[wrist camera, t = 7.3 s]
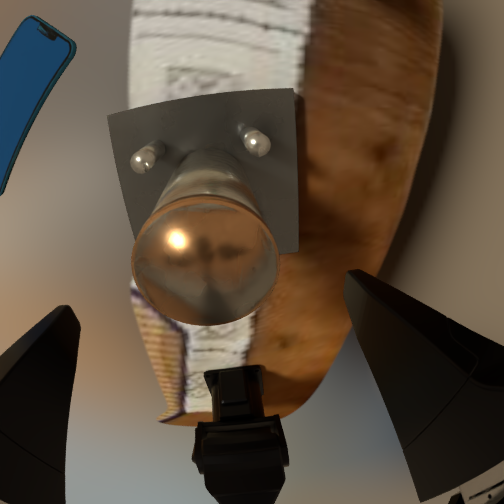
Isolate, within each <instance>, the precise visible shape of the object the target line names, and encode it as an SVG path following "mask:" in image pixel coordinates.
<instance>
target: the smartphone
mask: <svg viewBox="0 0 504 504" xmlns="http://www.w3.org/2000/svg"><path fill="white" fill-rule="evenodd" d="M76 48H77V47H76V43H75V42H74V41H73V40H72V39H70V38H69V37H67V36H66V35H64V34H63V33H61V32H60V31H59V30H57V29H56V28H54V27H53V26H51V25H50V24H48V23H47V22H45V21H44V20H42V19H41V18H39V17H38V16H34V15H31V16H28V17H26V18H25V19H24V20H23V21H22V22H21V24H20V25H19V27H18V28H17V30H16V31H15V33H14V34H13V36H12V38H11V40H10V41H9V43H8V44H7V46H6V48H5V50H4V51H3V53H2V55H1V57H0V196H1V195H2V194H3V193H4V192H5V188H6V186H7V183H8V180H9V177H10V175H11V172H12V169H13V167H14V164H15V162H16V159H17V157H18V155H19V152H20V150H21V148H22V145H23V143H24V141H25V139H26V137H27V135H28V133H29V131H30V129H31V127H32V125H33V123H34V121H35V119H36V117H37V115H38V113H39V111H40V109H41V108H42V106H43V104H44V102H45V100H46V99H47V97H48V96H49V94H50V92H51V90H52V89H53V87H54V86H55V84H56V83H57V81H58V79H59V78H60V76H61V75H62V73H63V72H64V70H65V69H66V67H67V66H68V65H69V63H70V62H71V60H72V59H73V58H74V56H75V54H76Z"/></svg>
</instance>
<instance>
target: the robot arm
mask: <svg viewBox="0 0 504 504" xmlns="http://www.w3.org/2000/svg"><path fill="white" fill-rule="evenodd" d="M343 295H344V300H345V303H346V306H347V309H348V312H349V315H350V318H351V321H352V324H353V327H354V330H355V333H356V336H357V339H358V342H359V344H360V346H361V349H362V351H363V353H364V355H365V358H366V360H367V362H368V364H369V367H370V369H371V371H372V374H373V376H374V378H375V381H376V383H377V385H378V388H379V390H380V392H381V395H382V398H383V400H384V402H385V405H386V407H387V410H388V413H389V415H390V418H391V420H392V423H393V425H394V428H395V431H396V433H397V436H398V439H399V441H400V444H401V447H402V449H403V453H404V456H405V459H406V461H407V464H408V467H409V470H410V473H411V476H412V479H413V482H414V485H415V488H416V492H417V495H418V498H419V500H420V502H424V501H427V500H429V499H432V498H434V497H436V496H439V495H441V494H443V493H445V492H448V491H450V490H452V489H454V488H456V487H458V486H459V489H460V491H459V492H458V493H456V494H455V495H453V496H452V497H451V498H450V501H449V503H448V504H504V346H502V345H500V344H498V343H496V342H494V341H492V340H490V339H488V338H486V337H484V336H482V335H480V334H478V333H476V332H474V331H472V330H470V329H468V328H466V327H464V326H463V325H461V324H459V323H457V322H455V321H454V320H452V319H450V318H447V317H446V316H445V315H443V314H441V313H440V312H438V311H436V310H434V309H432V308H431V307H429V306H427V305H425V304H423V303H422V302H420V301H418V300H416V299H414V298H413V297H411V296H409V295H407V294H405V293H403V292H402V291H400V290H398V289H396V288H394V287H392V286H391V285H389V284H387V283H385V282H383V281H381V280H379V279H377V278H376V277H374V276H372V275H370V274H368V273H366V272H364V271H362V270H360V269H356V270H350V271H348V272H347V273H346V276H345V284H344V291H343ZM80 331H81V326H80V322H79V321H78V319H77V317H76V315H75V313H74V312H73V310H72V308H71V307H70V306H69V305H60V306H58V307H56V308H55V309H54V310H53V311H52V312H50V313H49V314H48V315H47V316H45V317H44V318H43V319H42V320H41V321H40V322H38V323H37V324H36V325H35V326H34V327H32V328H31V329H30V330H29V331H28V332H26V334H24V335H23V336H22V337H21V338H20V339H18V340H17V341H16V342H15V343H14V344H13V345H12V346H11V347H10V348H8V349H7V350H6V351H5V352H4V353H3V354H2V355H1V356H0V504H66V500H65V458H66V440H67V429H68V419H69V411H70V402H71V396H72V390H73V384H74V378H75V372H76V364H77V356H78V347H79V339H80ZM204 378H205V381H206V384H207V386H208V389H209V391H210V394H211V396H212V412H213V422H203V421H202V422H198V426H197V428H195V444H194V449H193V453H192V461H193V462H194V463H195V464H196V465H197V468H198V470H199V473H200V474H204V480H205V486H206V489H207V490H208V491H209V493H210V494H211V495H212V496H213V497H214V498H215V499H216V500H217V502H218V503H219V504H274V503H275V501H276V499H277V497H278V495H279V493H280V490H281V489H282V486H283V484H284V482H285V472H284V467H287V466H289V455H288V448H287V444H286V439H285V436H284V432H283V429H282V425H281V421H280V418H279V414H276V415H274V416H268V417H265V415H264V409H263V403H262V397H261V396H262V395H263V394H264V392H263V383H262V373H261V367H260V366H249V367H242V368H233V369H225V370H215V371H206V372H204Z"/></svg>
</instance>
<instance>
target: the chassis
mask: <svg viewBox="0 0 504 504" xmlns="http://www.w3.org/2000/svg"><path fill="white" fill-rule="evenodd" d="M107 118H108V124H109V131H110V137H111V142H112V147H113V153H114V158H115V163H116V167H117V172H118V176H119V181H120V185H121V189H122V193H123V198H124V201H125V206H126V209H127V213H128V217H129V221H130V224H131V228H132V231H133V235H134V238H135V241H136V239H137V237H138V235H139V233H140V231H141V229H142V227H143V225H144V224H145V222H146V221H147V220H148V218H149V217H150V216H151V214H152V212H153V210H154V208H155V206H156V204H157V202H158V200H159V198H160V197H161V195H162V193H163V191H164V189H165V187H166V185H167V183H168V181H169V180H170V178H171V176H172V174H173V172H174V171H175V169H176V167H177V166H178V164H179V163H180V162H181V160H182V159H184V158H185V157H186V156H187V155H189V154H191V153H192V152H195V151H197V150H201V149H218V150H222V151H225V152H227V153H229V154H230V155H232V156H233V157H234V158H236V159H237V160H238V162H239V163H240V164H241V166H242V167H243V169H244V171H245V174H246V176H247V179H248V181H249V184H250V186H251V189H252V191H253V194H254V197H255V199H256V202H257V204H258V207H259V209H260V212H261V214H262V217H263V220H264V221H265V223H266V224H267V226H268V227H269V229H270V231H271V233H272V235H273V238H274V240H275V243H276V245H277V249H278V252H279V254H286V253H293V252H299V215H298V169H297V143H296V122H295V105H294V90H293V88H283V89H260V90H246V91H234V92H225V93H216V94H208V95H201V96H194V97H188V98H182V99H176V100H171V101H166V102H161V103H156V104H151V105H147V106H143V107H138V108H134V109H130V110H126V111H123V112H119V113H115V114H112V115H108V116H107Z"/></svg>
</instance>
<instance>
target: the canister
mask: <svg viewBox="0 0 504 504" xmlns="http://www.w3.org/2000/svg"><path fill="white" fill-rule="evenodd" d="M131 259H132V260H131V266H132V273H133V277H134V280H135V283H136V285H137V287H138V289H139V291H140V292H141V294H142V295H143V297H144V298H145V299H146V300H147V302H148V303H150V304H151V305H152V306H153V307H154V308H155V309H156V310H158V311H159V312H161V313H162V314H164V315H166V316H167V317H170V318H172V319H174V320H177V321H180V322H183V323H187V324H191V325H199V326H213V325H221V324H226V323H230V322H233V321H236V320H239V319H241V318H243V317H245V316H247V315H249V314H250V313H252V312H253V311H255V310H256V309H257V308H258V307H260V306H261V305H262V304H263V303H264V302H265V301H266V300H267V298H268V297H269V295H270V294H271V293H272V291H273V289H274V287H275V285H276V282H277V279H278V275H279V270H280V259H279V252H278V249H277V245H276V243H275V240H274V238H273V235H272V233H271V231H270V229H269V227H268V226H267V224H266V223H265V221H264V220H263V217H262V214H261V212H260V209H259V207H258V204H257V202H256V199H255V197H254V194H253V191H252V189H251V186H250V184H249V181H248V179H247V176H246V174H245V171H244V169H243V167H242V166H241V164H240V163H239V162H238V160H237V159H236V158H234V157H233V156H232V155H230V154H229V153H227V152H225V151H222V150H218V149H201V150H197V151H195V152H192V153H191V154H189V155H187V156H186V157H185V158H184V159H182V160H181V162H180V163H179V164H178V166H177V167H176V169H175V171H174V172H173V174H172V176H171V178H170V180H169V181H168V183H167V185H166V187H165V189H164V191H163V193H162V195H161V197H160V198H159V200H158V202H157V204H156V206H155V208H154V210H153V212H152V214H151V216H150V217H149V218H148V220H147V221H146V222H145V224H144V225H143V227H142V229H141V231H140V233H139V235H138V237H137V239H136V241H135V244H134V247H133V251H132V257H131Z"/></svg>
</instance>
